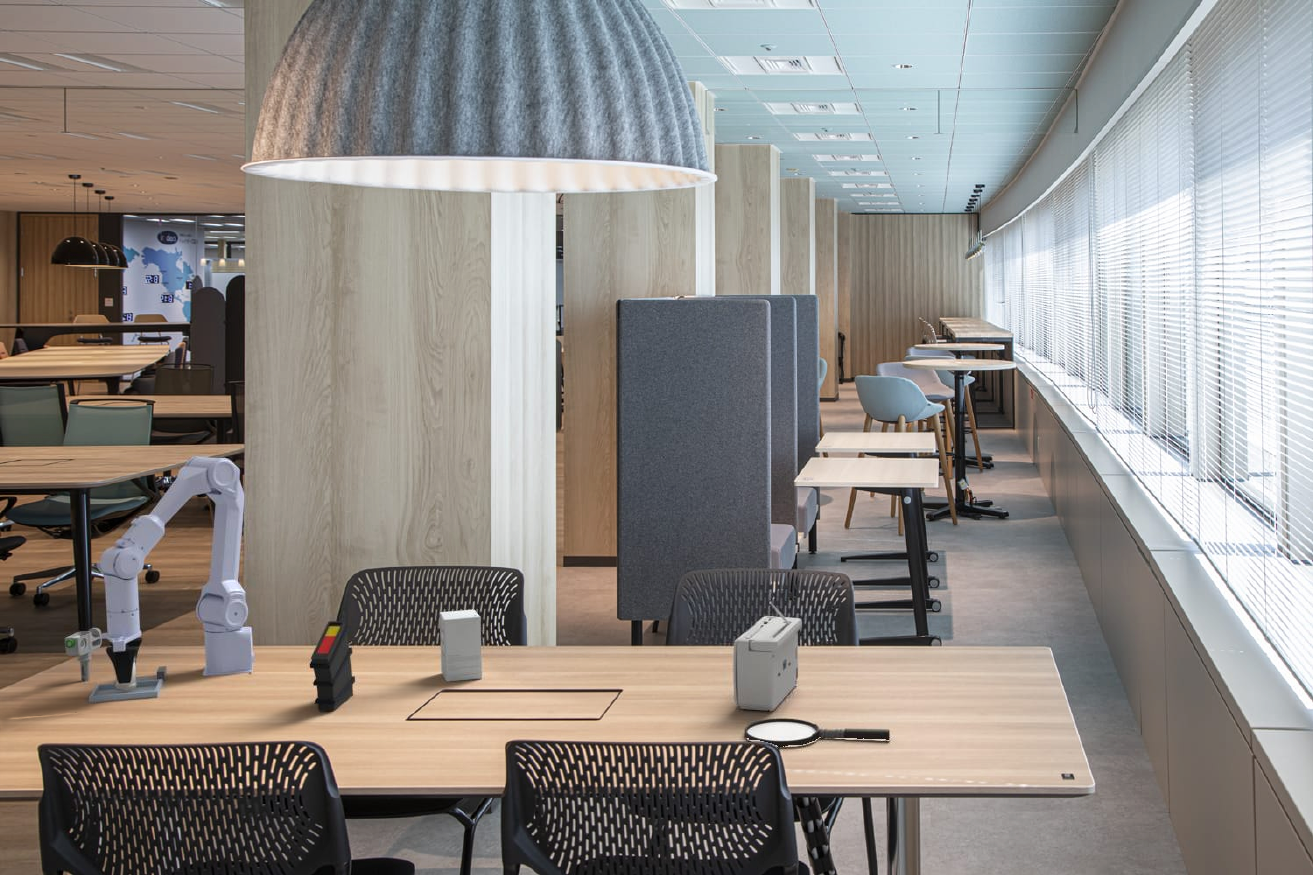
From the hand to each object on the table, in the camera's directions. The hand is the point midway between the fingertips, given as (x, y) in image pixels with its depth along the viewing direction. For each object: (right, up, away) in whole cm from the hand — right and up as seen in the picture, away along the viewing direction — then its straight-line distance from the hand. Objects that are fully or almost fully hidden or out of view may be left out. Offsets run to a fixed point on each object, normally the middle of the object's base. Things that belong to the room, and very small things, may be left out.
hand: (126, 680), depth 245 cm
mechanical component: (-12, -3, +10) cm, 16 cm away
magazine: (+42, -3, -8) cm, 43 cm away
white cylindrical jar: (0, -2, 0) cm, 2 cm away
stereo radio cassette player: (+122, -2, -7) cm, 122 cm away
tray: (0, -3, 0) cm, 3 cm away
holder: (-1, -2, +10) cm, 11 cm away
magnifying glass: (+128, -4, -31) cm, 132 cm away
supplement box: (+62, -2, +11) cm, 63 cm away
